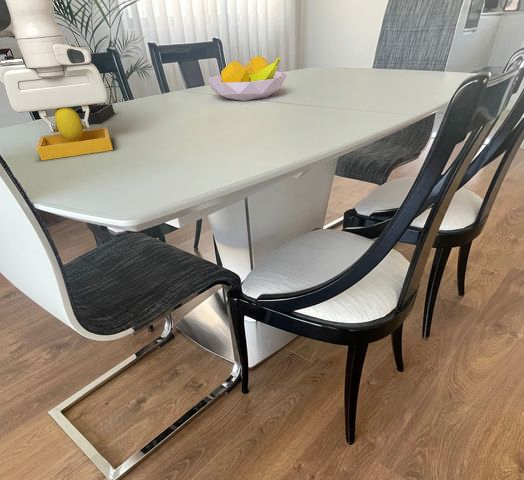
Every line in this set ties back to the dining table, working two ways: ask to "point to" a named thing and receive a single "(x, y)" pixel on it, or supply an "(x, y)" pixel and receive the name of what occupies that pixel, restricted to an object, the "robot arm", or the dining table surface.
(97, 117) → the dark tray
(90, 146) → the yellow tray
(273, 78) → the fruit bowl
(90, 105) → the lighter
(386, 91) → the dining table surface
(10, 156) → the dining table surface
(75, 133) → the lemon
